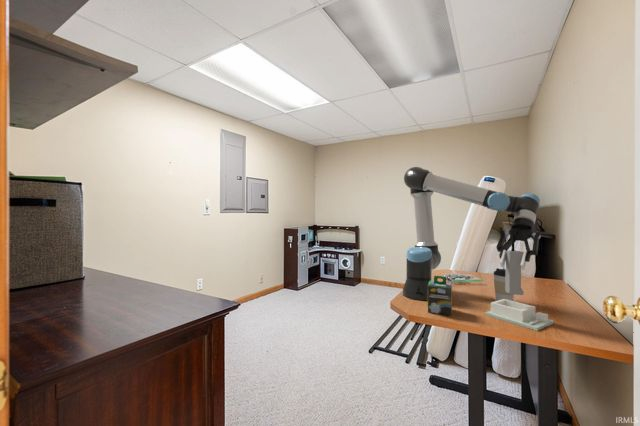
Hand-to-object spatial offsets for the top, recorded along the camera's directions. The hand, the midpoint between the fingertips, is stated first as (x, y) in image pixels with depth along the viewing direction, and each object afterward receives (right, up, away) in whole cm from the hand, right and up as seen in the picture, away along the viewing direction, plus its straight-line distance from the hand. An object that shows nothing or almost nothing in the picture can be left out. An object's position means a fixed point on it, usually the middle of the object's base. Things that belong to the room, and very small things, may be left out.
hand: (511, 265), depth 110 cm
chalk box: (-24, -21, +9) cm, 33 cm away
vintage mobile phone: (+3, -12, +2) cm, 12 cm away
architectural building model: (+3, -21, +1) cm, 21 cm away
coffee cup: (+12, -21, +23) cm, 33 cm away
